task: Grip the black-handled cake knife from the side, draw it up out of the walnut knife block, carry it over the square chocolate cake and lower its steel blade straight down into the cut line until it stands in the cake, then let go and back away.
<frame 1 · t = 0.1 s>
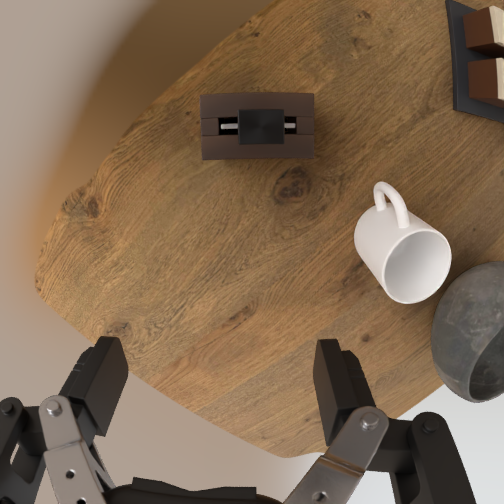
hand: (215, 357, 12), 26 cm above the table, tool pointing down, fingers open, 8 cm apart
cup: (378, 219, 37), on the table
bowl: (463, 299, 42), on the table
knife: (257, 125, 25), in the knife block
knife block: (256, 124, 33), on the table
cake: (493, 67, 28), on the table
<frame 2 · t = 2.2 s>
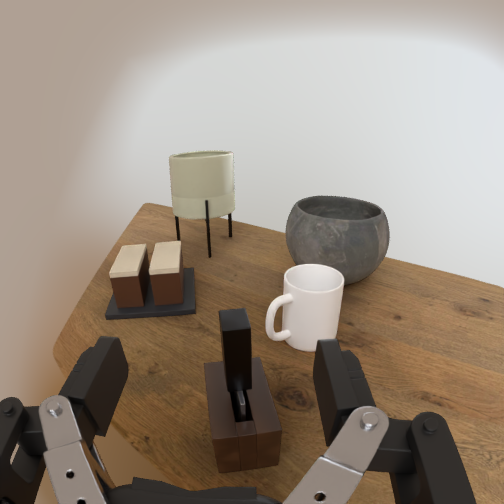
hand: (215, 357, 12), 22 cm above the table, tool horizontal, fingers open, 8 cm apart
cup: (299, 340, 46), on the table
bowl: (333, 277, 65), on the table
planter: (205, 245, 82), on the table
knife: (238, 387, 28), in the knife block
knife block: (241, 433, 31), on the table
cake: (153, 293, 59), on the table
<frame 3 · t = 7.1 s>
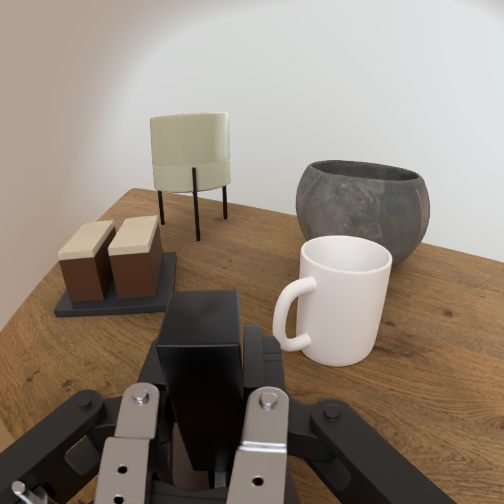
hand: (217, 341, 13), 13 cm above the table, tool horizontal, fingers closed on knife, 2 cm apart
cup: (321, 350, 31), on the table
bowl: (356, 263, 49), on the table
planter: (193, 227, 66), on the table
knife: (222, 456, 12), in the knife block, touching gripper
cake: (121, 284, 43), on the table
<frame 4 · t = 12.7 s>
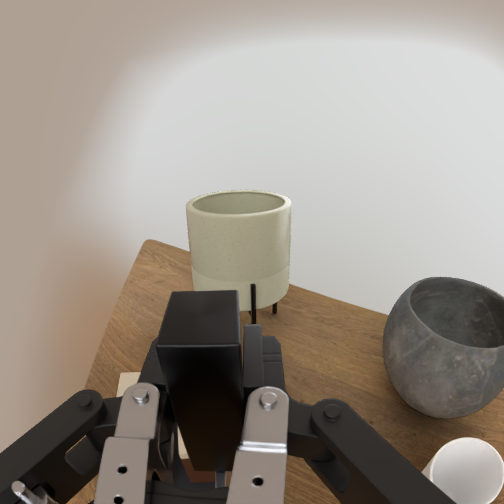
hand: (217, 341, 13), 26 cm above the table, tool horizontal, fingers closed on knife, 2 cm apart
bowl: (432, 390, 38), on the table
planter: (241, 331, 55), on the table
knife: (222, 456, 12), point 21 cm above the table, touching gripper
cake: (180, 446, 33), on the table
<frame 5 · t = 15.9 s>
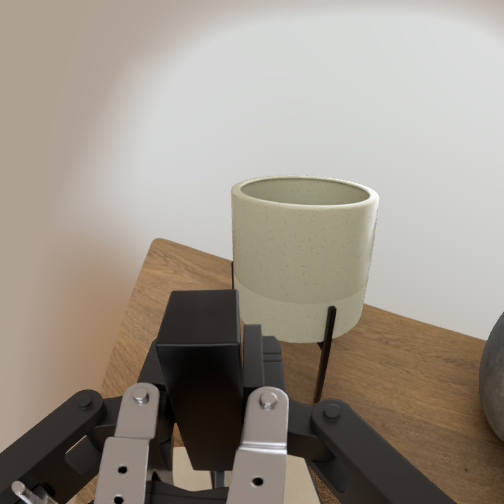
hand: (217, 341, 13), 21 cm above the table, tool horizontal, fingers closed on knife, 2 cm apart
planter: (291, 359, 42), on the table
knife: (222, 455, 12), point 17 cm above the table, touching gripper
when the fingers open (14 cm above the table, at t = 18.2 s): knife stays where it is, resting on cake.
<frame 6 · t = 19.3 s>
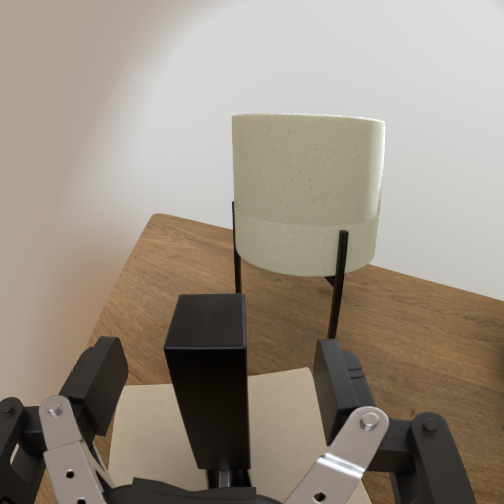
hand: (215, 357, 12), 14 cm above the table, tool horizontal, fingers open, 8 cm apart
planter: (298, 315, 39), on the table
knife: (226, 455, 12), point 9 cm above the table, touching cake
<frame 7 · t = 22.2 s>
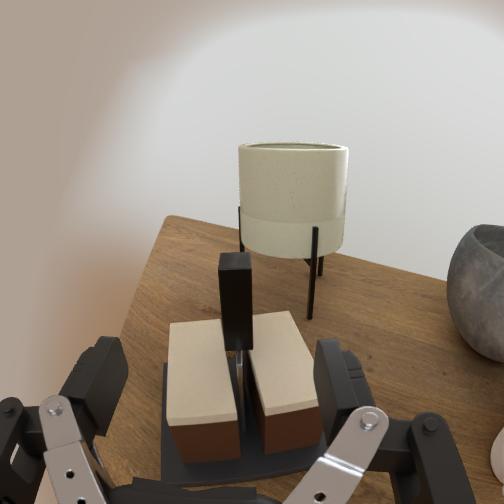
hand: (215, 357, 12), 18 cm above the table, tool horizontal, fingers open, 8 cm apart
bowl: (491, 343, 35), on the table
planter: (288, 292, 52), on the table
knife: (239, 349, 25), point 9 cm above the table, touching cake
cake: (242, 413, 29), on the table
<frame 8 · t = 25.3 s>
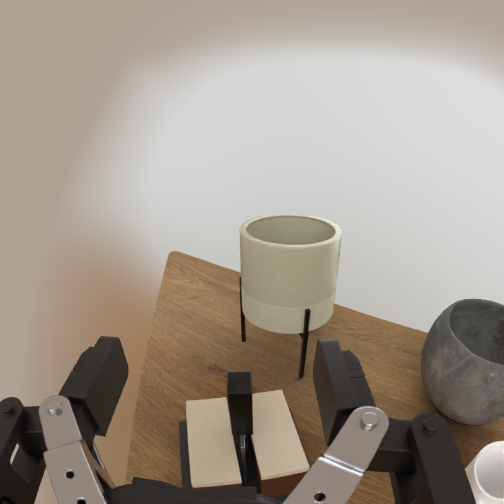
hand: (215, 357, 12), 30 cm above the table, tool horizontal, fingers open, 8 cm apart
bowl: (460, 399, 40), on the table
planter: (283, 348, 57), on the table
knife: (242, 430, 30), point 9 cm above the table, touching cake
cake: (244, 465, 34), on the table
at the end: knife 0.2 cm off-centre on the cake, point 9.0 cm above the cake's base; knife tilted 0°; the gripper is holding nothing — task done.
